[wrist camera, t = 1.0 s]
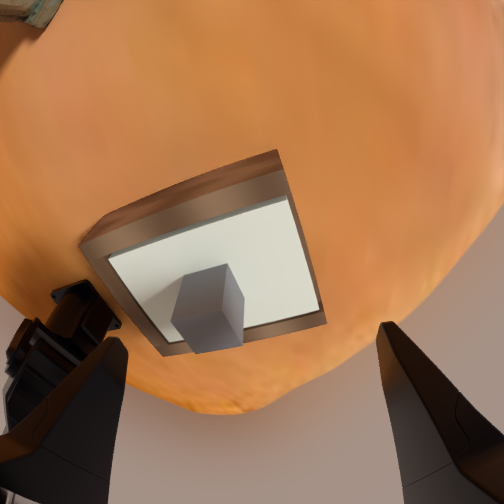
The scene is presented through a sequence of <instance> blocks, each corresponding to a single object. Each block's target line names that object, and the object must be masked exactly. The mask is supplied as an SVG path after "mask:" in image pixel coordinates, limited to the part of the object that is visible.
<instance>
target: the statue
mask: <svg viewBox="0 0 504 504" xmlns="http://www.w3.org/2000/svg"><path fill="white" fill-rule="evenodd" d="M61 2H62V0H0V22H23V23H28V24H30V25H32V26H33V27H36V28H40V29H43V28H44V27H46V25H47V24H48V23H49V21H50V20H51V18H52V17H53V16H54V14H55V13H56V11H57V9H58V8H59V6H60V3H61Z"/></svg>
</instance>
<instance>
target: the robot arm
mask: <svg viewBox="0 0 504 504" xmlns="http://www.w3.org/2000/svg"><path fill="white" fill-rule="evenodd" d="M51 297H52V299H53V300H54V301H55V302H56V304H57V305H56V307H55V309H54V310H53V312H52V313H51V315H50V317H49V318H48V320H47V322H46V323H45V325H44V324H43V323H41V322H40V321H41V320H39V319H38V318H37V317H36V318H35V319H34V320H33V321H32V320H29V319H27V318H25V319H24V320H23V322H22V323H21V325H20V327H19V328H18V330H17V332H16V333H15V335H14V337H13V339H12V341H11V342H10V345H9V346H8V349H7V350H6V355H7V362H6V364H7V366H6V369H5V373H6V374H7V375H9V377H8V379H7V382H6V384H5V385H4V388H3V403H4V413H5V421H6V426H5V429H4V431H3V434H2V435H0V504H108V495H109V485H110V475H111V468H112V460H113V453H114V446H115V440H116V433H117V428H118V422H119V417H120V411H121V405H122V401H123V396H124V390H125V382H126V372H127V364H128V351H127V349H126V347H125V346H124V345H123V343H122V342H121V340H120V339H119V338H118V337H107V338H106V339H105V340H104V338H105V335H106V333H107V331H110V330H116V329H120V328H121V326H122V323H121V322H120V320H119V319H118V318H117V317H116V315H115V314H114V313H113V312H112V310H111V309H110V308H109V307H108V305H107V304H106V303H105V302H104V300H103V299H102V298H101V296H100V295H99V294H98V292H97V291H96V290H95V288H94V287H93V286H92V284H91V283H90V282H89V281H88V280H82V281H79V282H77V283H74V284H71V285H68V286H65V287H62V288H60V289H57V290H54V291H52V293H51ZM103 340H104V341H103ZM376 346H377V352H378V359H379V366H380V373H381V380H382V386H383V391H384V395H385V399H386V403H387V408H388V412H389V417H390V421H391V426H392V431H393V435H394V441H395V446H396V451H397V457H398V463H399V469H400V475H401V481H402V487H403V496H404V504H504V435H503V434H502V433H501V432H500V431H499V430H498V429H497V428H496V427H495V426H493V425H492V424H491V423H490V422H489V421H488V420H487V419H486V418H485V417H484V416H483V415H481V413H480V412H478V411H477V410H476V409H475V408H474V407H473V405H472V404H471V403H470V402H469V401H468V400H467V399H466V398H465V397H464V396H463V395H462V393H461V392H459V390H458V389H457V388H456V387H455V386H454V385H453V384H452V382H451V381H450V380H449V379H448V378H447V377H446V376H445V375H444V374H443V373H442V372H441V370H440V369H438V367H437V366H436V365H435V364H434V363H433V362H432V361H431V360H430V359H429V358H428V357H427V356H426V355H425V353H424V352H423V351H422V350H421V349H420V348H419V347H418V346H417V345H416V344H415V343H414V342H413V341H412V340H411V339H410V338H409V337H408V336H407V335H406V334H405V333H404V332H403V331H402V330H401V329H400V328H399V327H398V326H397V325H396V324H395V323H394V322H393V321H388V322H382V323H381V324H380V326H379V330H378V334H377V338H376Z"/></svg>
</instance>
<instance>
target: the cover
mask: <svg viewBox="0 0 504 504" xmlns="http://www.w3.org/2000/svg"><path fill="white" fill-rule="evenodd" d="M108 260H109V261H110V263H111V264H112V266H113V267H114V269H115V270H116V272H117V273H118V275H119V276H120V278H121V279H122V281H123V282H124V283H125V285H126V286H127V288H128V289H129V291H130V292H131V293H132V295H133V296H134V297H135V299H136V300H137V302H138V303H139V304H140V306H141V307H142V308H143V310H144V311H145V312H146V314H147V315H148V316H149V317H150V319H151V320H152V321H153V323H154V324H155V325H156V326H157V328H158V329H159V330H160V331H161V333H162V334H163V335H164V336H165V338H166V339H167V340H168V341H169V342H174V341H180V340H185V341H186V343H187V344H188V345H189V346H190V348H191V349H192V350H193V352H194V353H195V354H199V353H205V352H211V351H217V350H222V349H228V348H233V347H239V346H243V328H246V327H251V326H255V325H260V324H264V323H268V322H273V321H277V320H281V319H285V318H289V317H293V316H297V315H301V314H305V313H309V312H312V311H316V310H319V306H318V302H317V298H316V294H315V291H314V287H313V283H312V280H311V276H310V273H309V269H308V265H307V262H306V259H305V255H304V252H303V248H302V245H301V241H300V238H299V235H298V231H297V228H296V225H295V222H294V218H293V215H292V212H291V209H290V206H289V202H288V199H287V196H286V195H283V196H280V197H277V198H273V199H270V200H267V201H264V202H260V203H257V204H254V205H251V206H247V207H244V208H241V209H238V210H235V211H232V212H229V213H225V214H222V215H219V216H216V217H213V218H210V219H207V220H204V221H201V222H198V223H195V224H192V225H189V226H186V227H183V228H181V229H178V230H175V231H172V232H169V233H166V234H163V235H161V236H158V237H155V238H152V239H149V240H147V241H144V242H141V243H138V244H136V245H133V246H130V247H127V248H125V249H122V250H119V251H117V252H114V253H112V254H111V256H110V257H109V259H108Z"/></svg>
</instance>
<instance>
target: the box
mask: <svg viewBox="0 0 504 504" xmlns="http://www.w3.org/2000/svg"><path fill="white" fill-rule="evenodd" d="M283 195H286V196H287V199H288V202H289V206H290V209H291V212H292V215H293V218H294V222H295V225H296V228H297V231H298V235H299V238H300V241H301V245H302V248H303V252H304V255H305V259H306V262H307V265H308V269H309V273H310V276H311V280H312V283H313V287H314V291H315V294H316V298H317V302H318V306H319V310H316V311H312V312H309V313H305V314H301V315H297V316H293V317H289V318H285V319H281V320H277V321H273V322H268V323H264V324H260V325H255V326H251V327H246V328H243V343H247V342H252V341H257V340H262V339H266V338H271V337H275V336H280V335H284V334H288V333H293V332H297V331H301V330H305V329H309V328H313V327H317V326H320V325H324V324H327V321H326V317H325V313H324V309H323V304H322V300H321V296H320V292H319V288H318V285H317V281H316V277H315V273H314V270H313V266H312V262H311V259H310V255H309V251H308V248H307V244H306V241H305V237H304V234H303V230H302V227H301V223H300V220H299V217H298V213H297V210H296V207H295V203H294V200H293V197H292V194H291V191H290V187H289V184H288V181H287V178H286V175H285V172H284V169H283V166H282V162H281V159H280V156H279V153H278V150H277V149H275V150H272V151H269V152H266V153H262V154H259V155H256V156H253V157H250V158H247V159H244V160H241V161H238V162H235V163H232V164H229V165H226V166H224V167H221V168H218V169H215V170H212V171H210V172H207V173H204V174H201V175H199V176H196V177H193V178H191V179H188V180H186V181H183V182H181V183H178V184H175V185H173V186H170V187H168V188H166V189H163V190H161V191H158V192H156V193H153V194H151V195H149V196H146V197H144V198H142V199H139V200H137V201H135V202H133V203H130V204H128V205H126V206H124V207H121V208H119V209H117V210H115V211H113V212H111V213H108V214H106V215H104V217H103V218H102V219H101V220H100V221H99V222H98V223H97V224H96V226H95V227H94V228H93V229H92V230H91V231H90V232H89V234H88V235H87V236H86V237H85V238H84V240H83V241H82V242H81V243H80V244H79V248H80V250H81V251H82V253H83V254H84V256H85V257H86V259H87V260H88V262H89V263H90V265H91V266H92V268H93V269H94V270H95V272H96V273H97V275H98V276H99V278H100V279H101V280H102V282H103V283H104V285H105V286H106V287H107V289H108V290H109V291H110V293H111V294H112V295H113V297H114V298H115V299H116V301H117V302H118V303H119V305H120V306H121V307H122V308H123V310H124V311H125V312H126V314H127V315H128V316H129V317H130V319H131V320H132V321H133V322H134V324H135V325H136V326H137V327H138V328H139V330H140V331H141V332H142V333H143V334H144V336H145V337H146V338H147V339H148V340H149V341H150V343H151V344H152V345H153V346H154V347H155V348H156V349H157V351H158V352H159V353H160V354H161V355H162V356H163V357H165V356H172V355H179V354H186V353H192V352H193V350H192V349H191V348H190V346H189V345H188V344H187V343H186V341H185V340H180V341H174V342H169V341H168V340H167V339H166V338H165V336H164V335H163V334H162V333H161V331H160V330H159V329H158V328H157V326H156V325H155V324H154V323H153V321H152V320H151V319H150V317H149V316H148V315H147V314H146V312H145V311H144V310H143V308H142V307H141V306H140V304H139V303H138V302H137V300H136V299H135V297H134V296H133V295H132V293H131V292H130V291H129V289H128V288H127V286H126V285H125V283H124V282H123V281H122V279H121V278H120V276H119V275H118V273H117V272H116V270H115V269H114V267H113V266H112V264H111V263H110V261H109V260H108V259H109V257H110V256H111V254H112V253H114V252H117V251H119V250H122V249H125V248H127V247H130V246H133V245H136V244H138V243H141V242H144V241H147V240H149V239H152V238H155V237H158V236H161V235H163V234H166V233H169V232H172V231H175V230H178V229H181V228H183V227H186V226H189V225H192V224H195V223H198V222H201V221H204V220H207V219H210V218H213V217H216V216H219V215H222V214H225V213H229V212H232V211H235V210H238V209H241V208H244V207H247V206H251V205H254V204H257V203H260V202H264V201H267V200H270V199H273V198H277V197H280V196H283Z"/></svg>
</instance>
